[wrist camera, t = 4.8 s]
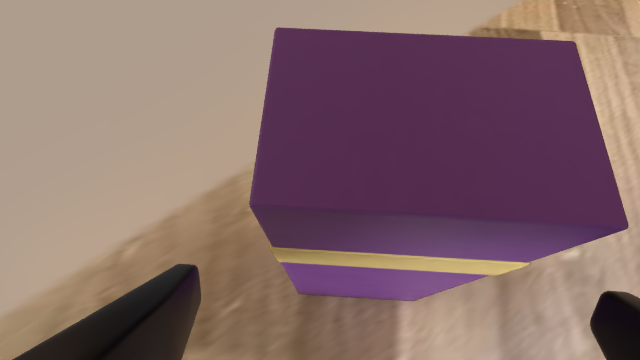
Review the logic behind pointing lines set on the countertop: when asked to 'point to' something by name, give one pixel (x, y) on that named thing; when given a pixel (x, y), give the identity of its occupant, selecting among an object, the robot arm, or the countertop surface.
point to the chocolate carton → (426, 160)
